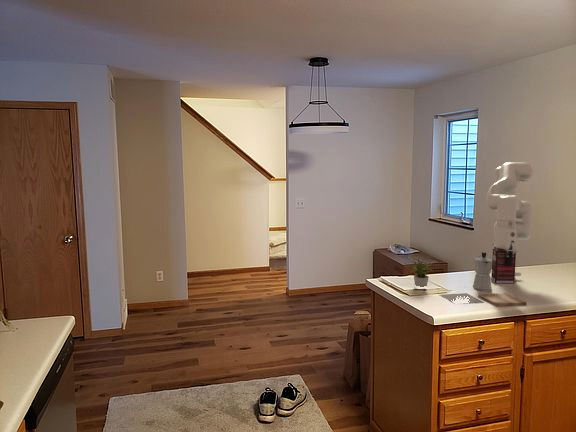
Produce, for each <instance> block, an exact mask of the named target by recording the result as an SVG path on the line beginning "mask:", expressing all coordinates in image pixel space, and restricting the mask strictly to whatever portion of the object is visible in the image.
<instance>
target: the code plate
mask: <svg viewBox="0 0 576 432" xmlns="http://www.w3.org/2000/svg"><path fill="white" fill-rule="evenodd" d="M440 295H441V297H442V298H444V299H445V298H446V300H447V299H448V300H447V301H449V302H451V303H452V301H453V299H454V301H455V300H456V298H458V299H459V298H461V299H462V298H463V300H464V299H465V298H466V297H467V296H468V297H469V298H470V299H469V298H467V299H469V301H470V302H469V301H468V302H469V304H483V303H485V301H484V300H483V301H482V299H480V298H478V297H475V296H473V295H471V294H469V293H467V292H466V293H464V292H463V293H444V294H440ZM457 296H458V297H457ZM460 296H461V297H460ZM464 296H465V298H464ZM461 299H460V300H461ZM451 300H452V301H451Z"/></svg>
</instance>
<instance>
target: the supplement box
mask: <svg viewBox="0 0 576 432" xmlns="http://www.w3.org/2000/svg"><path fill="white" fill-rule="evenodd" d="M509 250H510V249H509ZM508 253H510V251H508ZM516 256H517V252H516V253H515V254H514V255H513V257H512V266H505V257H506V252H505V250H502V249H494V248H492V259H491V260H492V269H491V275H492V276H491V285H492V284H493V285H494V286H515V282H516V281H515V278H516V276H515V272H516V262H517V261H516V260H517V257H516Z"/></svg>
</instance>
